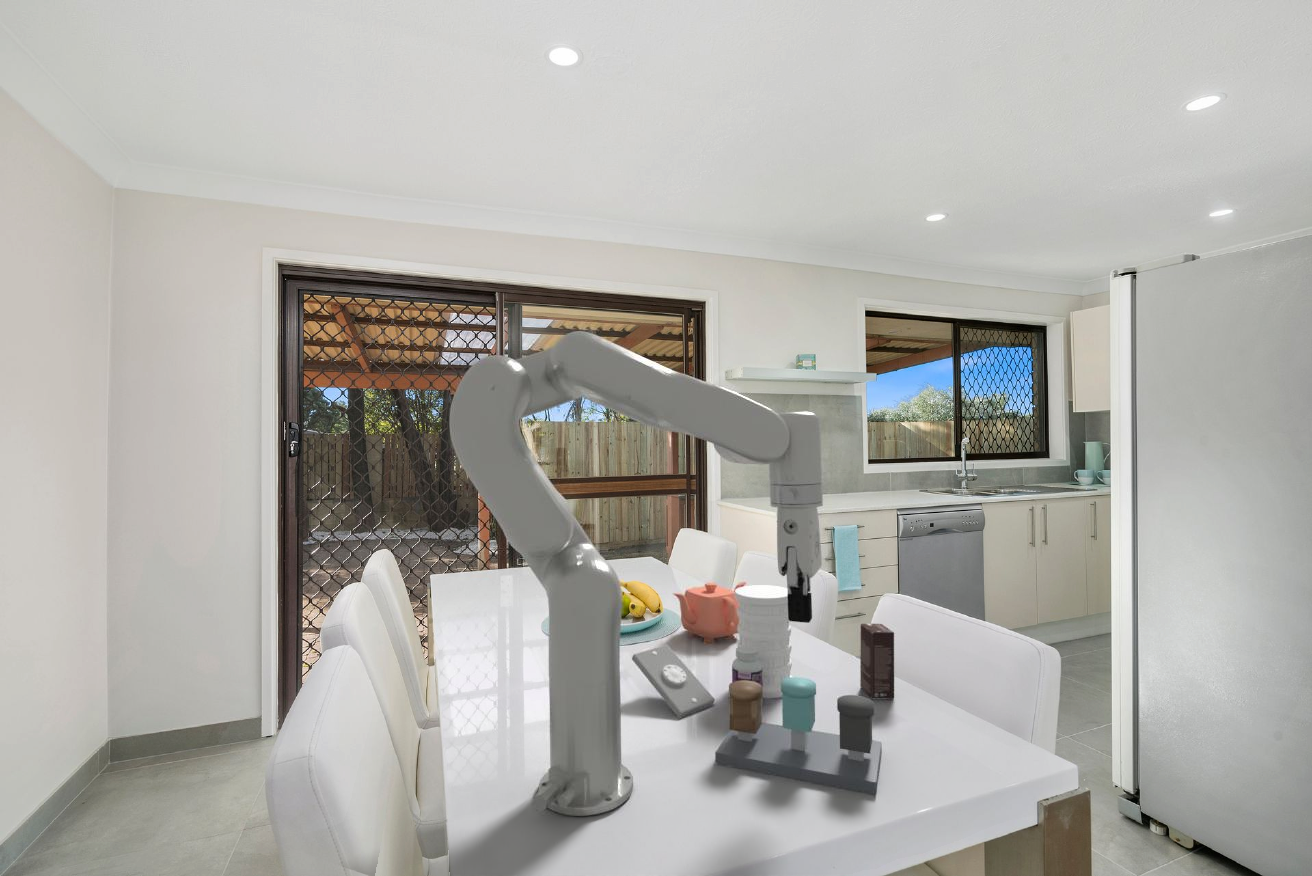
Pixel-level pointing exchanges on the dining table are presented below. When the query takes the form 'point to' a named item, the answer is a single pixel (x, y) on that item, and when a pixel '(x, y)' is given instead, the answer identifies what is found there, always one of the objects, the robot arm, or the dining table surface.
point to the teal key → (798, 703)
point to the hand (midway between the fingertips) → (800, 620)
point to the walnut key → (745, 706)
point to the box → (877, 661)
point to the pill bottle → (747, 666)
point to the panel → (802, 757)
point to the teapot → (710, 611)
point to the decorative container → (766, 632)
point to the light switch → (673, 680)
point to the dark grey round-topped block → (855, 723)
